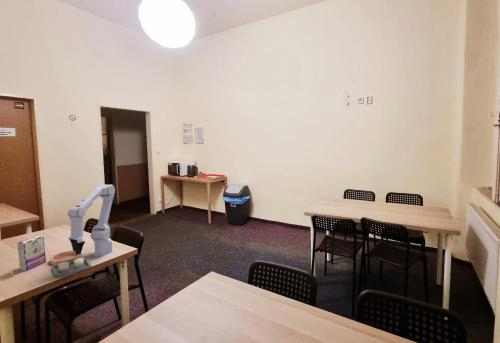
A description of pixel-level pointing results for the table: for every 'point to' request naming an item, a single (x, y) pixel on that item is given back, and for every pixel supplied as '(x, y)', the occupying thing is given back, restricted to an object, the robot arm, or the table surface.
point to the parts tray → (70, 269)
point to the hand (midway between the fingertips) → (77, 252)
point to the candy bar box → (31, 253)
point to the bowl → (64, 257)
